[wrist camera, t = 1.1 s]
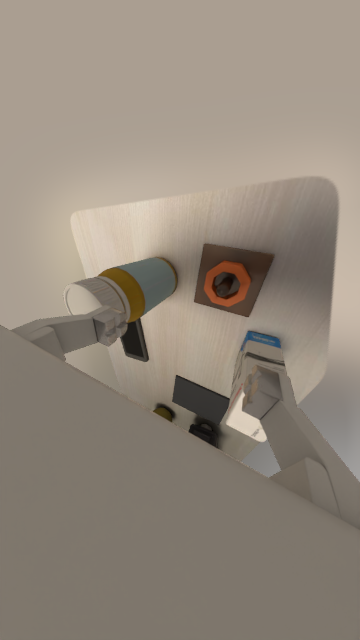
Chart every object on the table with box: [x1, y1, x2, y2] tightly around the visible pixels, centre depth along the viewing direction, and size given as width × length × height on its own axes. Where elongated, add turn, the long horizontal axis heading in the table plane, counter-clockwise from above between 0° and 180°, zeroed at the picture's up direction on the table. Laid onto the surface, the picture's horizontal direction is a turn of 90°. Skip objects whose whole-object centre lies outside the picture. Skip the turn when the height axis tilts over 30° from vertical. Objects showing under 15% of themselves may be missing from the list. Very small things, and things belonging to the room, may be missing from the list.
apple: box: [153, 408, 172, 422], centre depth 47 cm, size 8×8×7 cm
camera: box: [189, 424, 218, 448], centre depth 41 cm, size 11×11×15 cm
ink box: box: [226, 331, 287, 442], centre depth 22 cm, size 9×5×12 cm, turn 175°
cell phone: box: [120, 319, 148, 362], centre depth 38 cm, size 7×14×1 cm, turn 4°
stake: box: [194, 243, 274, 317], centre depth 21 cm, size 9×9×5 cm
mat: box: [172, 375, 230, 425], centre depth 40 cm, size 14×12×1 cm
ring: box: [204, 261, 251, 307], centre depth 21 cm, size 6×6×2 cm
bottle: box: [63, 257, 177, 323], centre depth 21 cm, size 7×7×15 cm
